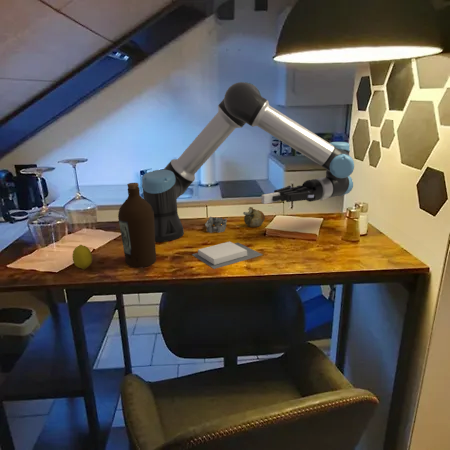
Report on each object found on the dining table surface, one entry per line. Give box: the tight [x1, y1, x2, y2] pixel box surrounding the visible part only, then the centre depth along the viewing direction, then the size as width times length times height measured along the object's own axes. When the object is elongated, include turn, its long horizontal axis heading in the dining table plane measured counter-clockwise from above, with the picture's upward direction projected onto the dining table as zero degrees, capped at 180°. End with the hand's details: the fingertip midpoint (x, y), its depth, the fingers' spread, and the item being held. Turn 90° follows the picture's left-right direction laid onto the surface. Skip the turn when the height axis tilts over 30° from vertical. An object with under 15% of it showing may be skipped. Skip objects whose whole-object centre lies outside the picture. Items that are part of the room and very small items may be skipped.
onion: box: [242, 206, 266, 228], centre depth 156 cm, size 8×8×8 cm
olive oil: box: [117, 182, 157, 268], centre depth 124 cm, size 11×11×25 cm
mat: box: [191, 242, 263, 270], centre depth 129 cm, size 18×14×1 cm
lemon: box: [72, 244, 93, 270], centre depth 122 cm, size 6×6×8 cm
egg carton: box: [204, 216, 228, 234], centre depth 156 cm, size 11×8×4 cm
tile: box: [197, 241, 247, 265], centre depth 128 cm, size 2×10×12 cm
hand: (263, 199), depth 131 cm, fingers closed
